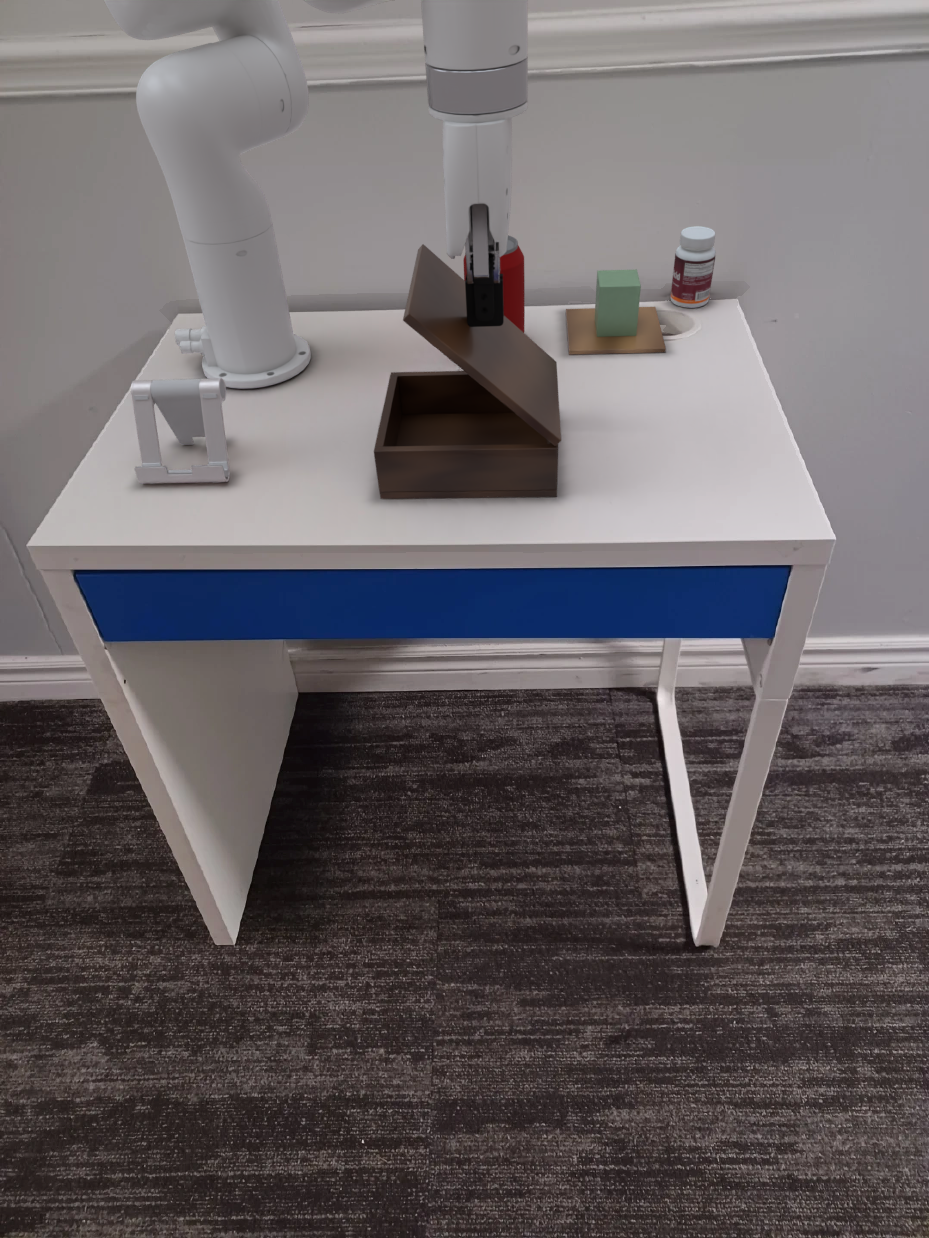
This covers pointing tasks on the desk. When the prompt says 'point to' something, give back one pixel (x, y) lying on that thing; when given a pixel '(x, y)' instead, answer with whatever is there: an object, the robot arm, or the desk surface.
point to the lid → (484, 346)
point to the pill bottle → (693, 267)
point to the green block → (617, 303)
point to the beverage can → (512, 282)
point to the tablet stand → (181, 427)
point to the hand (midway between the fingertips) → (485, 322)
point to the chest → (457, 442)
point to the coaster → (587, 342)
